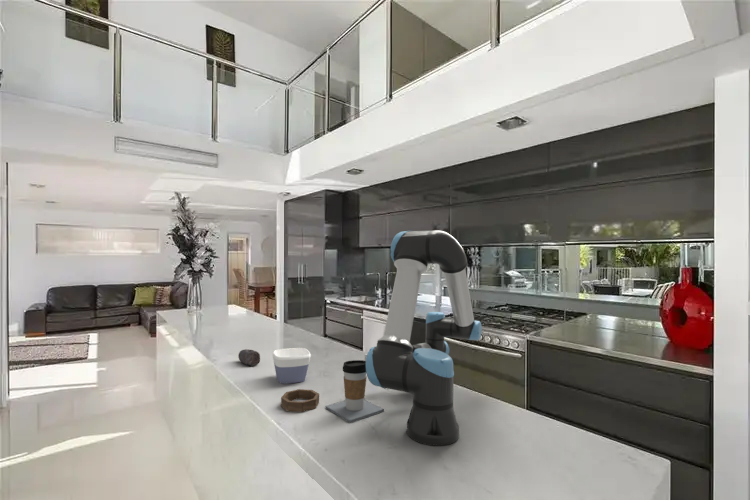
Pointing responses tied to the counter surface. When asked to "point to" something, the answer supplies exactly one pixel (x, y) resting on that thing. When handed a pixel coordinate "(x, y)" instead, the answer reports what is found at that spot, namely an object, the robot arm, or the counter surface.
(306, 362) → the blue white tub
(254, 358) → the perforated stone tool
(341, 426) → the counter surface
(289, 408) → the cup cradle
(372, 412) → the rubber mat
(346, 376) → the coffee cup
